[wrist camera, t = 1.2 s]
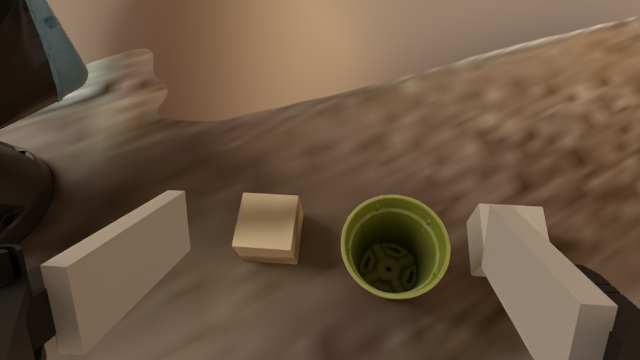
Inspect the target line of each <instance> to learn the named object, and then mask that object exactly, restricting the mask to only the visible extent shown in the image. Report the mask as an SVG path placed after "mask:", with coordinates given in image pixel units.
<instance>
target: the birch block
mask: <svg viewBox="0 0 640 360" xmlns="http://www.w3.org/2000/svg"><path fill="white" fill-rule="evenodd" d="M303 216H304V213H303V210H302V207H301V203H300V200H299V196H296V195H278V194H259V193H243V196H242V201H241V205H240V210H239V214H238V219H237V224H236V228H235V233H234V237H233V242H232V247H233V248H234V249H235V251H236V252H237V253H238V254H239V255H240V256H241V258H242V259H243V260H244V261H256V262H269V263H282V264H295V265H297V262H298V254H299V247H300V239H301V231H302V224H303Z"/></svg>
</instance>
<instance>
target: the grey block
mask: <svg viewBox="0 0 640 360" xmlns="http://www.w3.org/2000/svg"><path fill="white" fill-rule="evenodd" d="M495 205H499V204H495ZM489 206H490V204H481V203H479V204H478V206H477V207H476V209H475V210H474V212H473V213H472V215H471V216H470V218H469V219H468V221H467V233H468V245H469V256H470V267H471V276H482V277H486V275H485V274H484V272H483V270H482V268H481V266H482V258H483V251H484V244H485V236H486V229H487V221H488V214H489ZM511 206H512V207H513V208H514V209H515V210H516V211H517V212H518V213H519V214H520V215H521V216H523V217H524V218H525V219H526V220H527V221H528V222H529V223H530V224H531V225H532V226H533V227H534V228H535V229H536V230H537V231H538V232H540V233H541V234H542V235H543V236H544V237H545V238H546V239H547V240H548V241H549V237H548V232H547V227H546V222H545V217H544V212H543V207H536V206H517V205H511Z"/></svg>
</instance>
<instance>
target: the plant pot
mask: <svg viewBox="0 0 640 360" xmlns="http://www.w3.org/2000/svg"><path fill="white" fill-rule="evenodd" d="M389 247H391V248H395V249H398V250H399V251H400V253H397V252H395V251H391V250H388V248H389ZM341 252H342V257H343V260H344V263H345V266H346V268H347V270H348V271H349V273H350V274H351V276H352V277H353V278H354V280H355V281H356V282H357V283H358V284H359V285H361V286H362V287H363V288H364V289H366V290H367V291H369V292H371V293H372V294H373V295H375V296H377V297H379V298H383V299H408V298H413V297H416V296H419V295H421V294H424V293H425V292H427V291H429V290H430V289H432V288H433V287H434V286H435V285H436V284H437V283H438V282H439V281H440V280H441V278H442V277H443V275H444V274H445V272H446V270H447V267H448V264H449V261H450V253H451V248H450V241H449V237H448V233H447V230H446V228H445V226H444V224H443V223H442V221H441V220H440V218H439V217H438V216H437V215H436V214H435V213H434V212H433V211H432V210H431V209H430V208H429V207H427V206H426V205H425V204H423V203H421V202H420V201H417V200H415V199H412V198H409V197H406V196H401V195H382V196H378V197H374V198H372V199H369V200H367V201H365V202H364V203H362V204H360V205H359V206H358V207H357V208H356V209H355V210H354V211H353V212H352V213H351V214H350V215H349V217H348V219H347V220H346V222H345V225H344V227H343V231H342V235H341ZM368 257H370V261H369V263H368V268H367V269H365V268H364V264H365V262H366V259H367V258H368ZM387 267H390V268H391V271H390V272H388V271H387V270H386V268H387ZM410 271H411V272H412V280H411V282H410V283H407V280H408V278H409V274H410ZM376 288H379V289H381V290H384V291H388V292H389V293H388V292H383V291H380V290H378V289H376Z"/></svg>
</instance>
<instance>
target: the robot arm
mask: <svg viewBox="0 0 640 360" xmlns="http://www.w3.org/2000/svg"><path fill="white" fill-rule="evenodd" d="M87 78H88V70H87V68H86V66H85V64H84V62H83V60H82V59H81V57H80V55H79V53H78V52H77V50H76V48H75V47H74V45H73V43H72V42H71V40H70V38H69V37H68V35H67V33H66V32H65V30H64V28H63V27H62V25H61V23H60V22H59V21H58V19H57V17H56V15H55V14H54V12H53V10H52V9H51V7H50V5H49V4H48V2H47V1H46V0H0V129H2V128H4V127H6V126H8V125H10V124H12V123H14V122H16V121H18V120H20V119H22V118H24V117H26V116H29V115H31V114H33V113H35V112H37V111H39V110H41V109H43V108H45V107H47V106H49V105H51V104H53V103H55V102H59V101H61V100H62V99H63V97H65V96H66V95H68V94H70V93H72V92H73V91H75V90H77V89H78V88H80V87H82V86H83V85H84V84H85V82H86V80H87ZM52 192H53V178H52V174H51V171H50V169H49V168H48V166H47V165H46V164H45V163H44V162H43V161H42V160H40V159H39V158H38V157H36V156H35V155H34V154H32V153H31V152H29V151H27V150H25V149H23V148H20V147H17V146H13V145H10V144H7V143H4V142H1V141H0V360H46V357H47V355H46V351H45V347H44V344H45V343H46V342H47V341H48V340H50V339H51V338H52V337H53V336H54V335H56V340H57V344H58V349H59V353H66V354H75V355H85V354H86V353H87V352H88V351H89V350H90V349H91V348H92V347H93V346H94V345H95V344H96V343H97V342H98V341H99V340H100V339H101V338H102V337H103V336H104V335H105V334H106V333H107V332H108V331H109V330H110V329H111V328H112V327H113V326H114V325H115V324H116V323H117V322H118V321H119V320H120V319H121V318H122V317H123V316H124V315H125V314H126V313H127V312H128V311H129V310H130V309H131V308H132V307H133V306H134V305H135V304H136V303H137V302H138V301H139V300H140V299H141V298H142V297H143V296H144V295H145V294H146V293H147V292H148V291H149V290H150V289H151V288H153V287H154V286H155V285H156V284H157V283H158V282H159V281H160V280H161V279H162V278H163V277H164V276H165V275H166V274H167V273H168V272H169V271H170V270H171V269H172V268H173V267H174V266H175V265H176V264H177V263H178V262H179V261H180V260H181V259H182V258H183V257H184V256H185V255H186V254H187V253H188V252H189V251H190V239H189V229H188V219H187V209H186V199H185V191H173V190H167V191H166V192H164V193H162V194H161V195H159V196H157V197H156V198H154V199H152V200H150V201H149V202H147V203H145V204H144V205H142V206H140V207H139V208H137V209H135V210H133V211H132V212H130V213H128V214H127V215H125V216H123V217H121V218H120V219H118V220H116V221H115V222H113V223H111V224H110V225H108V226H106V227H104V228H103V229H101V230H99V231H98V232H96V233H94V234H92V235H91V236H89V237H87V238H86V239H84V240H82V241H81V242H79V243H77V244H75V245H73V246H72V247H70V248H68V249H66V250H65V251H63V252H61V253H60V254H58V255H56V256H55V257H53V258H51V259H49V260H48V261H46V262H44V263H43V264H41V265H39V266H37V267H36V268H34V269H32V270H31V271H29V272H27V269H26V265H25V261H24V256H23V252H22V248H21V246H19V245H16V243H18V242H19V241H20V240H21V239H23V238H24V237H25V236H26V235H27V234H28V233H29V232H30V231H31V230H32V229H33V228H34V227H35V226H36V224H37V223H38V222H39V220H40V219H41V218H42V216H43V214H44V213H45V211H46V209H47V207H48V205H49V202H50V200H51V196H52ZM481 268H482V270H483V272H484V274H485V275H486V277H487V279H488V281H489V282H490V284H491V286H492V288H493V289H494V291H495V293H496V295H497V296H498V298H499V300H500V301H501V303H502V305H503V307H504V308H505V310H506V312H507V314H508V315H509V317H510V319H511V321H512V322H513V324H514V326H515V328H516V329H517V331H518V333H519V335H520V336H521V338H522V340H523V342H524V343H525V345H526V347H527V349H528V350H529V352H530V354H531V356H532V357H533V359H534V360H640V309H639V308H637V307H636V306H635V305H634V304H633V303H632V302H631V301H629V300H628V299H627V298H626V297H625V296H624V295H621V294H620V292H619V291H618V290H617V289H616V288H615V287H614V286H611V284H610V283H609V282H608V281H607V280H606V279H604V278H603V277H602V276H601V275H600V274H598V273H596V272H594V271H593V270H591V269H589V268H587V267H585V266H583V265H574V264H573V263H571V262H570V261H569V260H568V259H567V258H566V257H565V256H564V255H563V254H562V253H561V252H560V251H559V250H558V249H557V248H556V247H554V246H553V245H552V244H551V243H550V242H549V241H548V240H547V239H546V238H545V237H544V236H543V235H542V234H541V233H540V232H538V231H537V230H536V229H535V228H534V227H533V226H532V225H531V224H530V223H529V222H528V221H527V220H526V219H525V218H524V217H523V216H521V215H520V214H519V213H518V212H517V211H516V210H515V209H514V208H513V207H512V206H511V205H495V204H490V206H489V214H488V221H487V229H486V236H485V244H484V251H483V258H482V266H481Z"/></svg>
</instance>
